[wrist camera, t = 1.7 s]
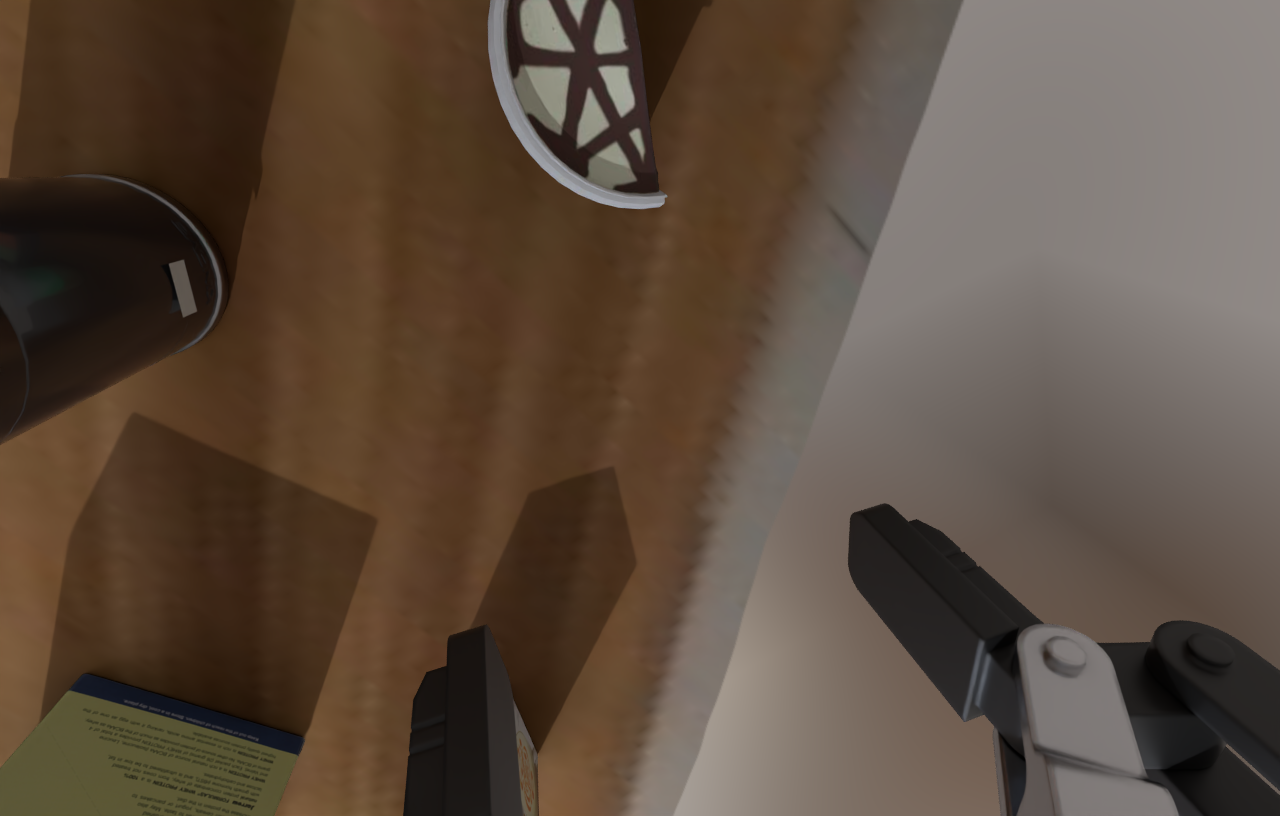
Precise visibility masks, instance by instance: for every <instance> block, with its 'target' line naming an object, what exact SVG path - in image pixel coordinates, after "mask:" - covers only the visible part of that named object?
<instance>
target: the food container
mask: <svg viewBox="0 0 1280 816" xmlns="http://www.w3.org/2000/svg"><path fill="white" fill-rule="evenodd" d="M488 51H489V57H490V64H491V70H492V76H493V80H494V84H495V87H496V90H497V94H498V97H499V100H500V103H501V106H502V108H503V110H504V112H505V114H506V116H507V119H508V121H509V123H510V125H511V127H512V129H513V130H514V132H515V134H516V135H517V137H518V138H519V140H520V141H521V143H522V144H523V146H524V147H525V149H526V150H527V151H528V152H529V154H530V155H531V156H532V157H533V158H534V159H535V160H536V162H537V163H538V164H539V165H540V166H541V167H542V168H543V169H544V170H545V171H546V172H548V173H549V174H550V175H551V176H552V177H553V178H555V179H556V180H557V181H558V182H559V183H561V184H563V185H564V186H566V187H568V188H569V189H571V190H572V191H574V192H576V193H577V194H579V195H581V196H584V197H586V198H589V199H591V200H594V201H596V202H598V203H602V204H607V205H611V206H615V207H619V208H634V209H645V208H654V207H660V206H661V205H662V204H664V203H665V200H664V197H667V195H666V194H665V193H663V192H662V191H660V190H659V184H658V172H657V169H656V165H655V158H654V152H653V144H652V136H651V128H650V120H649V113H648V105H647V97H646V88H645V79H644V70H643V61H642V52H641V45H640V39H639V32H638V26H637V20H636V14H635V7H634V0H491V2H490V10H489V18H488Z"/></svg>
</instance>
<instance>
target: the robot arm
mask: <svg viewBox="0 0 1280 816" xmlns="http://www.w3.org/2000/svg"><path fill="white" fill-rule="evenodd" d="M227 299H228V277H227V271H226V267H225V264H224V261H223V258H222V255H221V253H220V251H219V249H218V247H217V245H216V243H215V241H214V240H213V238H212V237H211V235H210V234H209V232H208V231H207V230H206V228H205V227H204V226H203V225H202V224H201V222H200V221H199V220H198V219H197V218H196V217H195V216H194V215H193V214H192V213H191V212H190V211H188V210H187V209H186V208H185V207H184V206H182V205H181V204H180V203H179V202H177V201H176V200H174V199H173V198H171V197H170V196H168V195H167V194H165V193H163V192H161V191H159V190H158V189H156V188H153V187H151V186H149V185H147V184H144V183H141V182H139V181H136V180H132V179H129V178H125V177H120V176H115V175H106V174H77V175H67V176H61V177H26V178H0V445H1V444H3V443H5V442H7V441H9V440H11V439H12V438H14V437H16V436H18V435H20V434H22V433H24V432H26V431H28V430H29V429H31V428H33V427H35V426H37V425H39V424H41V423H43V422H45V421H47V420H48V419H50V418H52V417H54V416H56V415H58V414H60V413H62V412H64V411H65V410H67V409H69V408H71V407H73V406H75V405H77V404H79V403H81V402H82V401H84V400H86V399H88V398H90V397H92V396H94V395H96V394H98V393H99V392H101V391H103V390H105V389H107V388H109V387H111V386H113V385H115V384H116V383H118V382H120V381H122V380H124V379H126V378H128V377H130V376H132V375H134V374H135V373H137V372H139V371H141V370H143V369H145V368H147V367H149V366H151V365H153V364H155V363H157V362H159V361H160V360H162V359H164V358H166V357H168V356H171V355H174V354H176V353H179V352H181V351H183V350H185V349H187V348H189V347H191V346H193V345H194V344H196V343H198V342H200V341H201V340H202V339H204V338H205V337H206V336H207V335H208V334H210V333H211V332H212V330H213V329H214V328H215V327H216V326H217V324H218V323H219V321H220V319H221V317H222V315H223V313H224V310H225V308H226V304H227ZM848 566H849V571H850V575H851V577H852V580H853V582H854V584H855V585H856V587H857V589H858V590H859V592H860V593H861V594H862V595H863V597H864V598H865V599H866V600H867V601H868V603H869V604H870V605H871V607H872V608H873V609H874V610H875V612H876V613H877V614H878V615H879V617H880V618H881V619H882V620H883V622H884V623H885V624H886V625H887V627H888V628H889V629H890V630H891V632H892V633H893V634H894V635H895V636H896V638H897V639H898V640H899V641H900V643H901V644H902V645H903V646H904V648H905V649H906V650H907V651H908V653H909V654H910V655H911V656H912V657H913V659H914V660H915V661H916V663H917V664H918V665H919V666H920V668H921V669H922V670H923V671H924V673H926V675H927V676H928V678H929V679H930V680H931V681H932V682H933V684H934V685H935V686H936V687H937V689H938V690H939V691H940V692H941V693H942V695H943V696H944V697H945V699H946V700H947V701H948V702H949V704H950V705H951V706H952V707H953V708H954V710H955V711H956V712H957V714H958V715H959V716H960V717H961V719H962V720H963V721H964V722H966V721H969V720H971V719H974V718H976V717H979V716H981V715H985V716H986V717H987V718H988V720H989V721H990V722H991V723H992V724H993V725H994V729H993V744H994V753H995V764H996V773H997V783H998V792H999V802H1000V813H1001V816H1280V795H1279V794H1277V793H1276V792H1275V791H1274V790H1273V789H1272V788H1271V787H1270V786H1269V785H1268V784H1266V783H1265V782H1264V781H1263V780H1262V779H1261V778H1260V777H1259V776H1258V775H1256V774H1255V773H1254V772H1253V771H1252V770H1251V769H1250V768H1249V767H1248V766H1247V765H1245V764H1244V763H1243V762H1242V761H1241V760H1240V759H1239V758H1238V757H1237V756H1236V755H1235V754H1233V753H1232V752H1231V751H1230V750H1229V749H1228V748H1227V747H1226V744H1228V745H1229V746H1231V747H1232V748H1233V749H1234V750H1235V751H1236V752H1237V753H1238V754H1240V755H1241V756H1242V757H1243V758H1244V759H1245V760H1246V761H1247V762H1248V763H1249V764H1251V765H1252V766H1253V767H1254V768H1255V769H1256V770H1257V771H1258V772H1259V773H1261V774H1262V775H1263V776H1264V777H1265V778H1266V779H1267V780H1268V781H1269V782H1271V783H1272V784H1273V785H1274V786H1275V787H1277V789H1278V790H1279V791H1280V670H1278V669H1277V668H1276V667H1274V666H1273V665H1271V664H1270V663H1269V662H1267V661H1266V660H1265V659H1263V658H1262V657H1261V656H1259V655H1258V654H1257V653H1255V652H1254V651H1253V650H1251V649H1250V648H1249V647H1247V646H1246V645H1244V644H1243V643H1242V642H1240V641H1239V640H1237V639H1236V638H1234V637H1232V636H1231V635H1229V634H1227V633H1225V632H1223V631H1221V630H1219V629H1216V628H1214V627H1211V626H1208V625H1204V624H1201V623H1197V622H1191V621H1171V622H1166V623H1164V624H1162V625H1160V626H1159V627H1158V628H1157V629H1156V631H1155V633H1154V635H1153V637H1152V639H1151V642H1139V643H1138V642H1136V643H1095V642H1094V641H1093V640H1091V639H1090V638H1089V637H1087V636H1085V635H1083V634H1082V633H1080V632H1077V631H1075V630H1073V629H1070V628H1067V627H1064V626H1060V625H1054V624H1044V623H1043V622H1042V621H1040V620H1039V619H1038V618H1037V617H1036V616H1034V615H1033V614H1032V613H1031V612H1030V611H1029V610H1028V609H1027V608H1026V607H1025V606H1023V605H1022V604H1021V603H1020V602H1019V601H1018V600H1017V599H1016V598H1015V597H1013V596H1012V595H1011V594H1010V593H1009V592H1008V591H1007V590H1006V589H1004V587H1002V586H1001V585H1000V584H999V583H998V582H997V581H996V580H995V579H993V578H992V577H991V576H990V575H989V574H988V573H987V572H986V571H985V570H984V569H982V568H981V567H980V566H979V567H978V566H977V565H976V562H975V561H974V560H972V559H971V558H970V557H969V556H968V555H967V554H966V553H965V552H961V550H960V548H959V547H958V546H957V545H956V544H955V543H954V542H953V541H951V540H950V539H949V538H948V537H947V536H946V535H945V534H944V533H942V532H941V531H939V530H937V529H935V528H933V527H931V526H929V525H927V524H925V523H923V522H921V521H919V520H917V519H916V520H912V521H909V522H908V521H907V520H906V519H905V518H904V517H903V516H902V515H900V514H899V513H898V512H897V511H896V510H895V509H894V508H893V507H892V506H890V505H889V504H880V505H877V506H874V507H871V508H868V509H864V510H861V511H858V512H854V513H853V514H852V515H851V518H850V532H849V553H848ZM411 729H412V733H410V745H409V752H410V756H408V767H407V779H406V790H405V802H404V813H403V816H523V813H522V800H521V788H520V775H519V763H518V750H517V738H516V725H515V713H514V701H513V694H512V689H511V684H510V680H509V676H508V673H507V670H506V668H505V665H504V663H503V660H502V658H501V655H500V653H499V650H498V648H497V645H496V643H495V641H494V638H493V636H492V633H491V631H490V628H489V627H488V625H487V624H486V625H483V626H479V627H476V628H473V629H470V630H466V631H463V632H460V633H457V634H453V635H450V636H449V638H448V644H447V666H445V667H442V668H438V669H435V670H432V671H429V672H426V674H425V677H424V679H423V681H422V683H421V685H420V687H419V689H418V691H417V693H416V695H415V697H414V699H413V710H412V722H411Z"/></svg>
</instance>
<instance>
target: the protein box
mask: <svg viewBox="0 0 1280 816" xmlns="http://www.w3.org/2000/svg"><path fill="white" fill-rule="evenodd" d="M304 742H305V739H304V738H303V737H299V736H296V735H293V734H289V733H286V732H283V731H279V730H276V729H273V728H269V727H266V726H262V725H259V724H256V723H252V722H249V721H245V720H242V719H238V718H235V717H232V716H229V715H225V714H222V713H218V712H215V711H211V710H208V709H205V708H201V707H198V706H195V705H191V704H188V703H185V702H181V701H178V700H175V699H171V698H168V697H165V696H161V695H158V694H154V693H151V692H148V691H144V690H141V689H138V688H134V687H131V686H127V685H124V684H121V683H117V682H114V681H110V680H107V679H104V678H100V677H97V676H94V675H90V674H83V675H82V676H81V677H80V678H79V679H78V680H77V681H76V682H75V683H74V684H73V686H72V687H71V688H70V689H69V690H68V691H67V692H66V693H65V695H64V696H63V697H62V698H61V699H60V700H59V701H58V703H57V704H56V705H55V706H54V707H53V708H52V709H51V711H50V712H49V713H48V714H47V715H46V716H45V718H44V719H43V720H42V721H41V722H40V723H39V725H38V726H37V727H36V728H35V729H34V730H33V731H32V732H31V734H30V735H29V736H28V737H27V738H26V739H25V740H24V742H23V743H22V744H21V745H20V746H19V747H18V748H17V750H16V751H15V752H14V753H13V754H12V755H11V756H10V757H9V759H8V760H7V761H6V762H5V763H4V764H3V765H2V767H1V768H0V816H274V815H275V812H276V810H277V807H278V805H279V802H280V800H281V797H282V795H283V792H284V790H285V787H286V785H287V782H288V780H289V777H290V775H291V773H292V770H293V768H294V765H295V763H296V760H297V758H298V756H299V754H300V752H301V750H302V747H303V745H304Z"/></svg>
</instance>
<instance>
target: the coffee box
mask: <svg viewBox="0 0 1280 816" xmlns="http://www.w3.org/2000/svg"><path fill="white" fill-rule="evenodd" d="M513 701H514V700H513ZM514 713H515V725H516V738H517V750H518V763H519V775H520V788H521V800H522V813H523V816H539V804H538V761H537V759H538V755H537V752H536V750H535V747H534V745H533V743H532V741H531V738H530V736H529V734H528V732H527V729H526V727H525V725H524V722H523V720H522V718H521V715H520V713H519V711H518V709H517V706H516V704H515V702H514Z"/></svg>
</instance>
